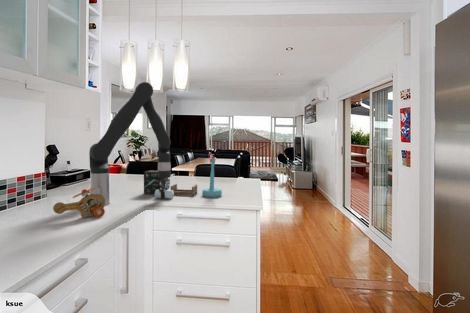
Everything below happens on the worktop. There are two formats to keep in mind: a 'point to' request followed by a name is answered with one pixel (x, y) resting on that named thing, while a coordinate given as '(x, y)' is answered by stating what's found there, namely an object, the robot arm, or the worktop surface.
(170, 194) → the paper roll
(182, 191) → the roll cradle
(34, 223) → the worktop surface
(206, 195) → the blue towel holder stand
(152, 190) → the tampon box
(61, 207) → the toy helicopter
